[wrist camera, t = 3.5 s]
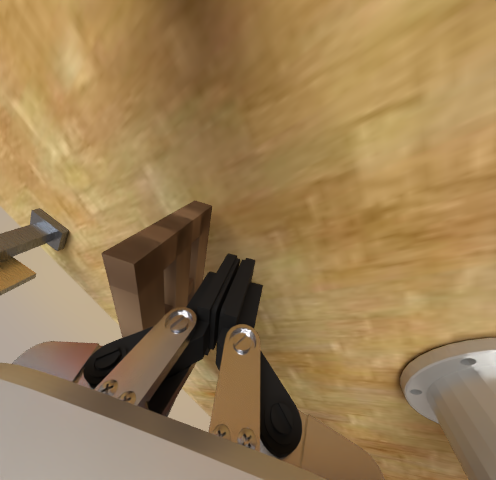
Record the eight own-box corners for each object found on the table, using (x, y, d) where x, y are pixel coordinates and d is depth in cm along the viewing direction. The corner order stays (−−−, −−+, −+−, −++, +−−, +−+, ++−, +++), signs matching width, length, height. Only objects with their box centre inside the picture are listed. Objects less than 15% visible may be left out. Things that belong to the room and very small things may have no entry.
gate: (194, 344, 20) (155, 422, 14) (184, 340, 20) (142, 417, 14) (212, 205, 11) (133, 264, 6) (194, 200, 11) (101, 252, 6)
